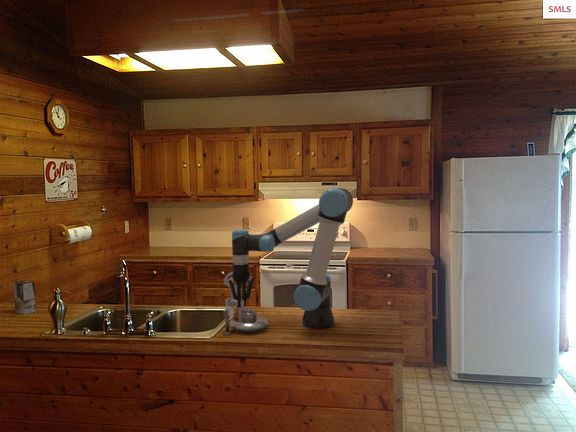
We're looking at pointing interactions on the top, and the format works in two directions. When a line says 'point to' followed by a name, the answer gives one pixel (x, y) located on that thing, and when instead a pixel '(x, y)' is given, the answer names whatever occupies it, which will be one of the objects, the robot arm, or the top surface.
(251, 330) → the turntable base
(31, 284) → the coffee box
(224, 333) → the dial stand
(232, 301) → the engine component
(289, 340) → the top surface
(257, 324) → the turntable
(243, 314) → the cover
